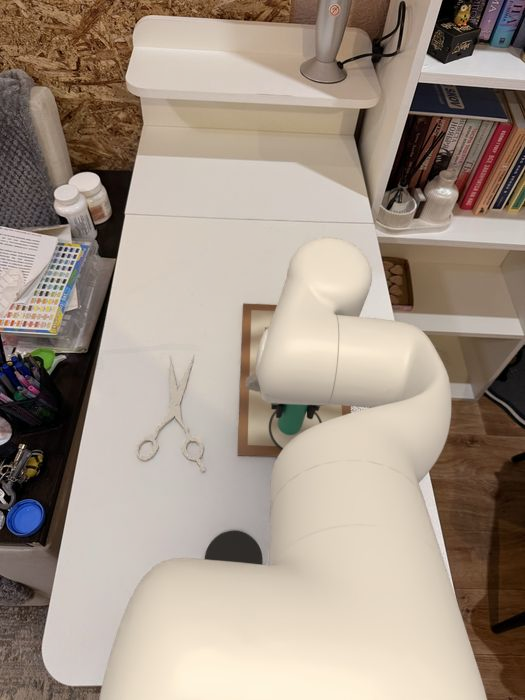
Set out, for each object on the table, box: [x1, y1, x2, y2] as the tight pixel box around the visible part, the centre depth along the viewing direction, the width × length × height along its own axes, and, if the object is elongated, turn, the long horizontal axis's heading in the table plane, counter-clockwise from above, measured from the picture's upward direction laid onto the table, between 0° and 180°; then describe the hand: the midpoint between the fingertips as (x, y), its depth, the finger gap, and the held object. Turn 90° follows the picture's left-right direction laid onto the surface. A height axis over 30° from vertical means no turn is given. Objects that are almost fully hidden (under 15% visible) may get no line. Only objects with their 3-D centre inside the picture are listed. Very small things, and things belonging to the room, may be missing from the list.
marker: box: [278, 404, 309, 435], centre depth 71 cm, size 4×4×12 cm
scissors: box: [135, 355, 206, 473], centre depth 81 cm, size 11×1×20 cm
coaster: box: [204, 530, 263, 565], centre depth 71 cm, size 8×8×1 cm
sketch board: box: [236, 302, 352, 458], centre depth 85 cm, size 28×18×1 cm, turn 179°
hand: (294, 407), depth 70 cm, fingers closed on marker, 3 cm apart
